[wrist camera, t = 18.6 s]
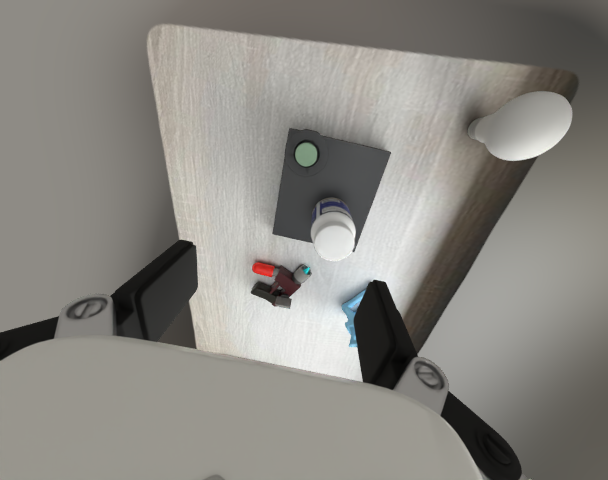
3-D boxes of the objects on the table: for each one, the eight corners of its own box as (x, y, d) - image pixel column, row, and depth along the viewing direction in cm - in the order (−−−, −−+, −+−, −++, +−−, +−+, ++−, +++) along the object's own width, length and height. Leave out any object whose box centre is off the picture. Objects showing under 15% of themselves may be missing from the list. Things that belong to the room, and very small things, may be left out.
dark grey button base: (291, 125, 30) (288, 124, 27) (388, 148, 31) (395, 150, 27) (274, 229, 38) (270, 238, 35) (352, 246, 38) (355, 257, 35)
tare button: (298, 140, 28) (297, 140, 27) (319, 145, 28) (319, 145, 27) (294, 162, 29) (293, 163, 28) (314, 167, 29) (314, 168, 28)
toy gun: (317, 268, 41) (316, 284, 36) (279, 303, 45) (275, 321, 41) (276, 237, 38) (270, 250, 34) (240, 277, 43) (231, 294, 39)
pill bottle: (330, 237, 35) (333, 273, 27) (304, 215, 34) (298, 245, 25) (357, 213, 33) (370, 243, 24) (330, 188, 32) (333, 210, 23)
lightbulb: (489, 153, 30) (571, 164, 20) (443, 153, 30) (501, 164, 21) (508, 101, 27) (613, 84, 17) (457, 102, 28) (531, 86, 18)
